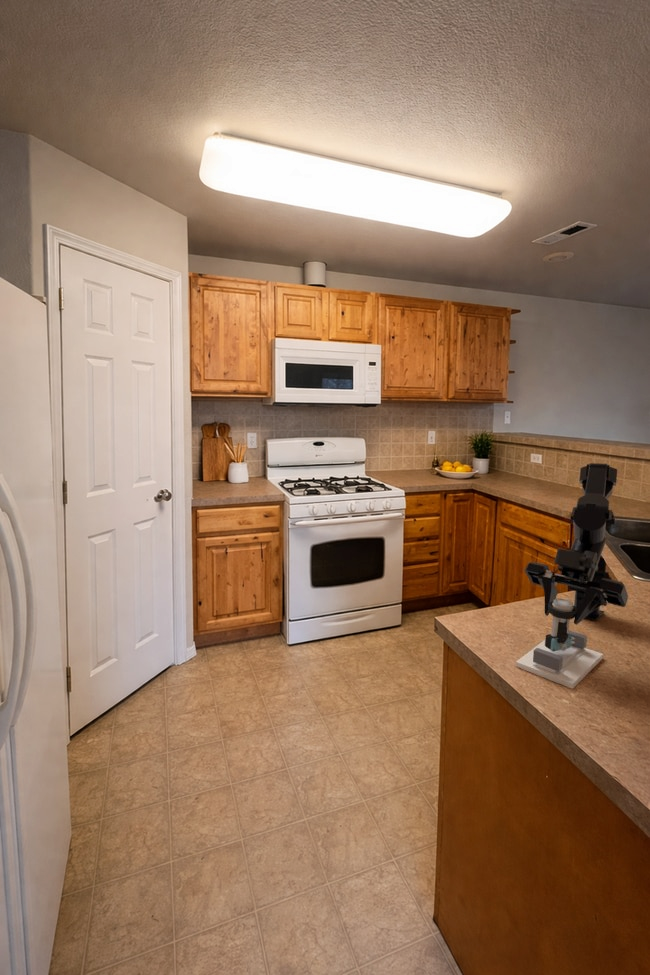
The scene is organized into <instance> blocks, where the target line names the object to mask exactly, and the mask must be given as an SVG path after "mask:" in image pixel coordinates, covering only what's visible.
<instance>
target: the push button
mask: <svg viewBox="0 0 650 975" xmlns="http://www.w3.org/2000/svg"><path fill="white" fill-rule="evenodd" d="M548 607H549V615H552V623H551V624H552V625H551V631H550V633H548V634H546V635H545V639H544V640H545V646H546V647H547V648H548V649H550V650H551V651H553V652H554V651H558V650H562V651H565V650H566V649H568V648H570V646H571V644H572V643H575V642H573V641H571V640H573V639H575V638H573V637H571V636H570V635H568V634H569V632H568V630H569V628H570V623H571V622H570V621H571V620H573V619H575V616H576V613H577V611H578V609H577V608H576V607H575V606H574V602H572V601H570V600H568V599H566V598H565V599H564V598H556V599H555V600H554V601H553V602H550V603H549V604H548ZM572 638H573V639H572ZM571 642H572V643H571Z"/></svg>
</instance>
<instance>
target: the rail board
mask: <svg viewBox="0 0 650 975" xmlns="http://www.w3.org/2000/svg"><path fill="white" fill-rule="evenodd" d="M568 632H569V634H568V635H570V636H571V637H573V638H575V639H573V638H572V639H573V640H571V641H573V642H575V643H572V642H571V643H572V644H571V646H570V648H568V649H566V650H565V651H562V650H558V651H554V652H553V651H551V650H550V649H548V648H547V647H546V646H545V639H544V640H543V641H541V642H540V643H539V644H537V645H536V646H535V647H533V648H532V649H531V650H529V651H528V652H526V654H524V655H523V656H521V657H520V658H519V659H518V660H516V661H515V667H516V668H518V669H521V670H523V671H526V672H529V673H532V674H534V675H536V676H539V677H540V678H541V677H542V678H544V679H547V680H549V681H552V682H554V683H557V684H559V685H562V686H564V687H567V688H569V689H572V690H573V689H575V687H576V686H577V685H578V684H579V683H580V682H581V681H582V680H584V678H585V677H586V676H587V675H588V674H589V673H590V671H592V670H593V669H594V668H595V667H596V666H597V665H598V664H599V663H600V662H601V661H602V660H603V659H604V658H603V657H604V654H603V653H601V652H598V651H596V650H592V649H589V648H587V642H588V640H587V639H588V635H585V634H584V633H583V634H582V633H580V632H575V631H573V630H568Z"/></svg>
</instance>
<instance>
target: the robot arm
mask: <svg viewBox="0 0 650 975" xmlns="http://www.w3.org/2000/svg"><path fill="white" fill-rule="evenodd" d="M617 479H618V469H617V468H614V467H612V466H611V464H607V463H600V462H599V463H595V462H591V463H590V462H589V463H587V464H586V465H585V466H582V467H580V471H579V480H578V482H579V484H580V485H581V488H582V494H583V495H582V496H580V497H579V498H577V502H576V506H573V507H572V511H571V515H570V524H573V536H574V539H573V541H572V545H571V547H570V548H567V549H563V548H557V550H556V553H555V557H554V558H555V559H554V563H553V564H555V565H558V566H557V570H558V572H560V573H557V572H555V571H554V572H553V571H551V570H550V568H549V566H548V565H547V564H545V563H544V564H543V563H541V562H536V561H530V562H529V563H527V564H526V566H525V569H524V572H525V574H526V576H527V578H528V579H529V581H530V583H531V584H533V585H536V586H541V587H542V589H543V590H544V591H543V592H544V594H543V595H544V615H545V616H546V617H548V616H549V615H550V613H549V607H548V604H549V603H550V602H553V601H554V600H555V599H557V596H558V594H559V591H558V589H557V584H559V585H560V584H561V585H565V586H568V590H569V591H574V601H573V606H575V607H576V608H577V609H578V611H577V613H576V616H575V618H573V619H574V620H573V624H574V625H576V626H577V625H579V624H580V622H582V621H583V620H584V619H587V620H591V621H597V620H598V619H599V618H601V617H602V616H603V615H604V614H605V611H604V610H600V608H601V606H603V607H606V606H607V605H608V604H609V605H614V606H617V607H621V608H625V607H626V605H627V603H628V601H629V600H628V598H629V594H628V592H627V589H626V585H625V584H624V583H623V581H619V580H615V579H612V577H611V576H610V571H606V570H607V562H606V559H605V558H604V557H603V555H602V553H603V550H604V548H605V545H606V543H607V538H606V531H607V530H608V528H612V525H614V526H615V524H616V523H615V522H616V515H615V514H614V511H613V510H612V509H610V500H609V498H610V497H611V496H612V494H613V490H614V487H616V486H617Z"/></svg>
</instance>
